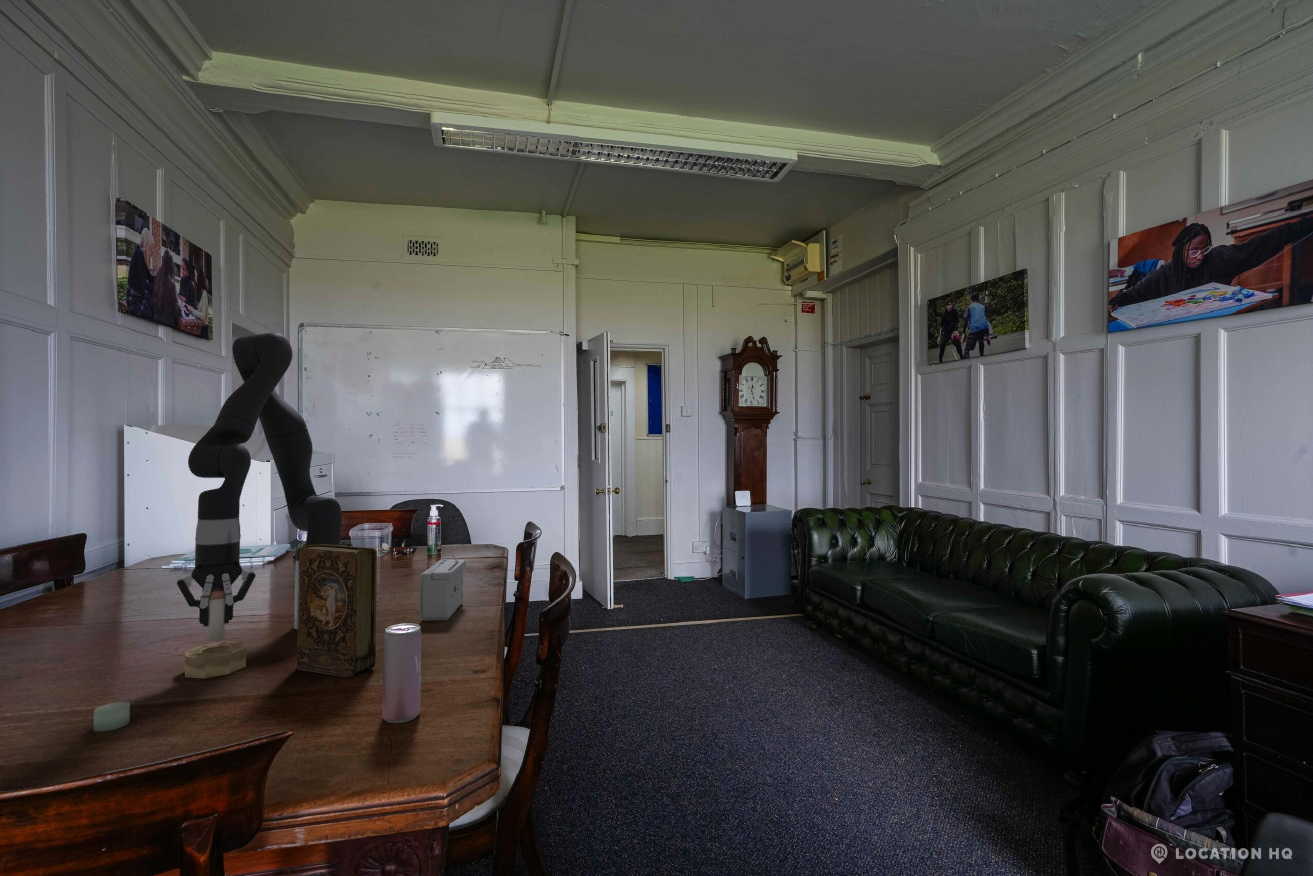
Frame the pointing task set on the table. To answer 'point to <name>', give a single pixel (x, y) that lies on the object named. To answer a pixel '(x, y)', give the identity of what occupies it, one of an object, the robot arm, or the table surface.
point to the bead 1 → (111, 716)
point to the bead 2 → (215, 659)
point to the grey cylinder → (216, 615)
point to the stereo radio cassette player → (441, 589)
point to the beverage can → (401, 673)
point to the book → (337, 609)
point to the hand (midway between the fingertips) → (215, 623)
